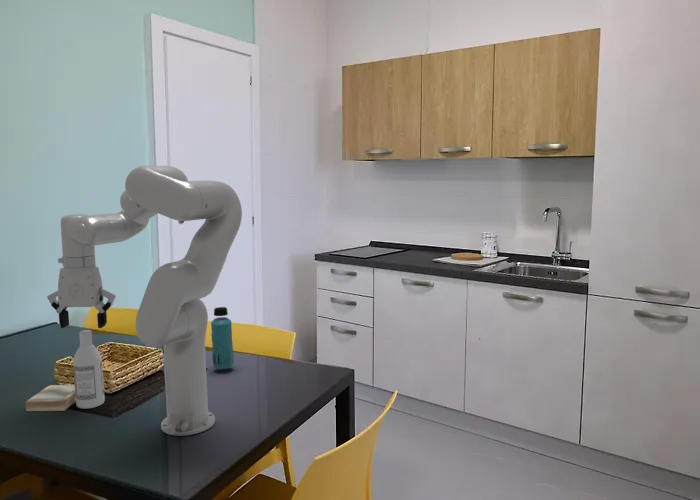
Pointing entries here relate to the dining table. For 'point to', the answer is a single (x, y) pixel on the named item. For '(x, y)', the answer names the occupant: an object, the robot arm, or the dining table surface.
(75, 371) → the bath foam
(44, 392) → the plinth
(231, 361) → the beverage bottle
